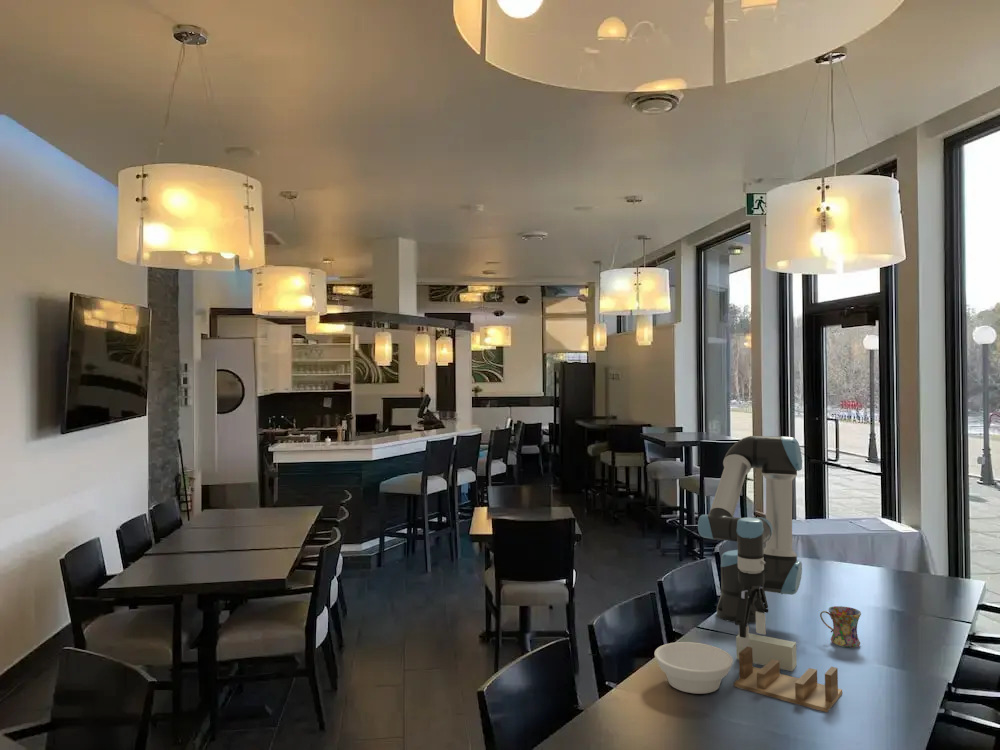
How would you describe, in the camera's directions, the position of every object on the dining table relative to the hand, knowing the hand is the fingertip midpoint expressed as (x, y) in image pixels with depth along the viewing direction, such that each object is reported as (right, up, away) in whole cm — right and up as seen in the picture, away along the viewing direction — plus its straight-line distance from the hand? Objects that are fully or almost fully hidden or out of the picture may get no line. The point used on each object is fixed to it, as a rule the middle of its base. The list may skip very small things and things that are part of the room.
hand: (752, 640), depth 208 cm
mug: (+32, -6, +11) cm, 35 cm away
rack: (+1, -5, -22) cm, 22 cm away
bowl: (-23, -6, -18) cm, 30 cm away
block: (+3, -6, -3) cm, 7 cm away
